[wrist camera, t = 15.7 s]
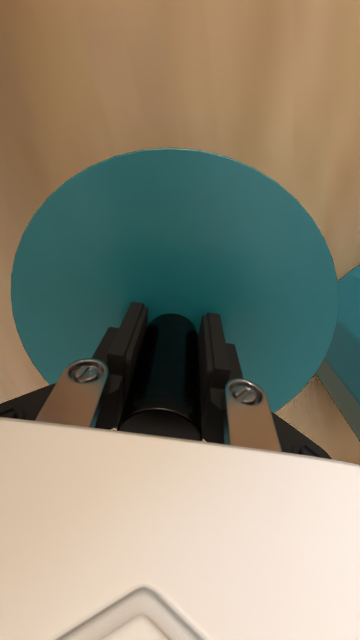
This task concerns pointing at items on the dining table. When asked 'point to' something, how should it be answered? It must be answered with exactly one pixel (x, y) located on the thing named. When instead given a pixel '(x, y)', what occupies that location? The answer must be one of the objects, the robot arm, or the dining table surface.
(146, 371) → the lid
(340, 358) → the pot
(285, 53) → the dining table surface
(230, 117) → the dining table surface
